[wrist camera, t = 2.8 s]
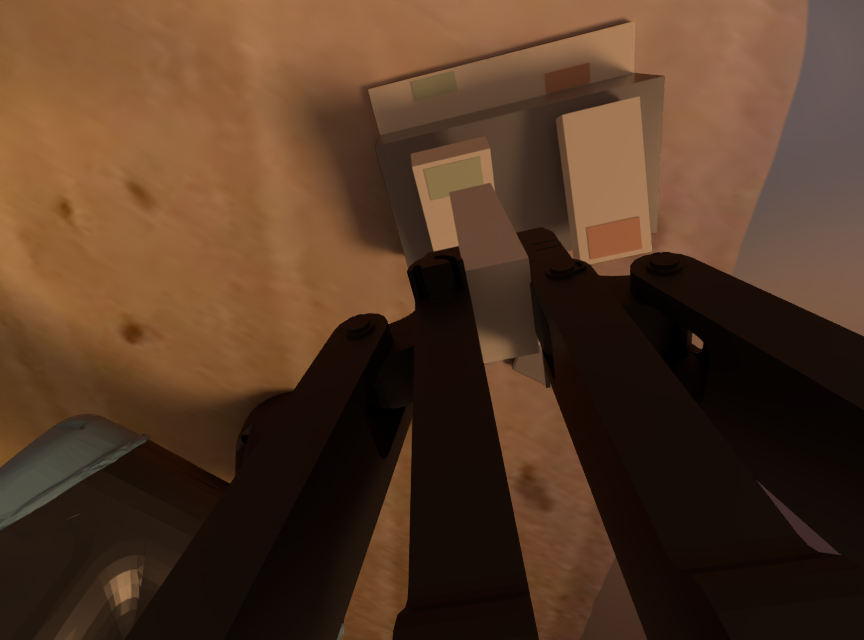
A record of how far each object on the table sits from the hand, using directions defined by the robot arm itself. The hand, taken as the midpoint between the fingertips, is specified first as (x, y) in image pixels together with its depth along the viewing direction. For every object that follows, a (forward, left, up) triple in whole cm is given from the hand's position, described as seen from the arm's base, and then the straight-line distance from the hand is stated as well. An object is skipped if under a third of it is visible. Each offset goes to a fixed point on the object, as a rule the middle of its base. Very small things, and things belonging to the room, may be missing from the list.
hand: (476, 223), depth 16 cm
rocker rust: (+9, -4, -12) cm, 15 cm away
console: (+4, -2, -19) cm, 20 cm away
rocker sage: (0, -4, -12) cm, 12 cm away
